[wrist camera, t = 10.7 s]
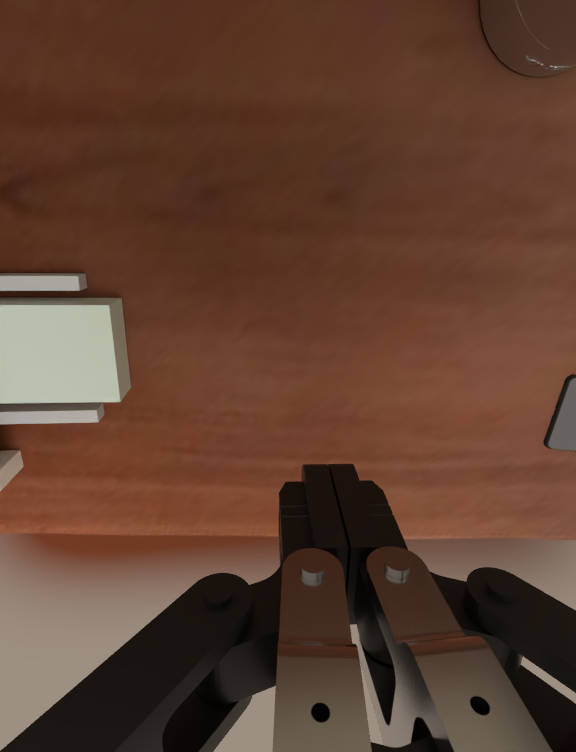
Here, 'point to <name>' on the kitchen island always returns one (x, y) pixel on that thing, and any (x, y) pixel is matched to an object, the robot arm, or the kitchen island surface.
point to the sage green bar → (62, 350)
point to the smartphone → (564, 419)
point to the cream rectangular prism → (9, 462)
